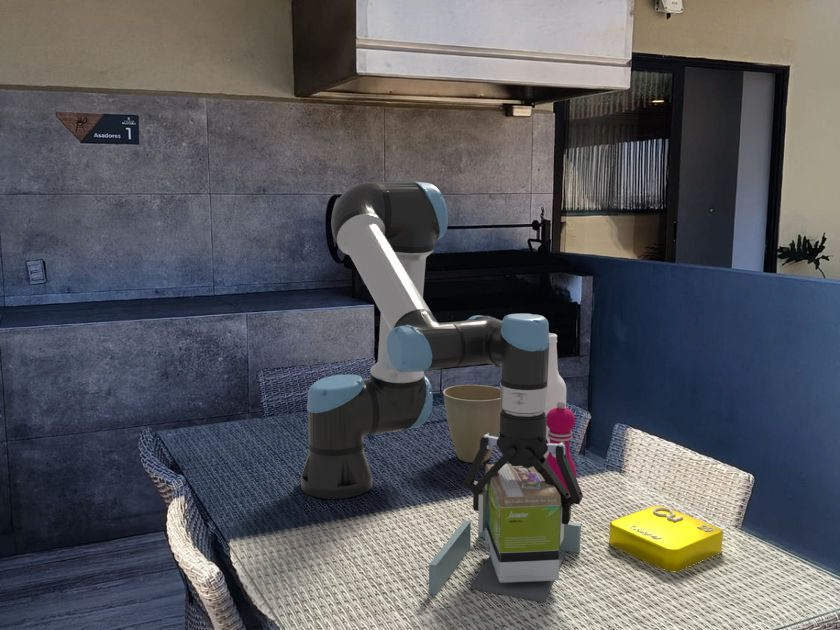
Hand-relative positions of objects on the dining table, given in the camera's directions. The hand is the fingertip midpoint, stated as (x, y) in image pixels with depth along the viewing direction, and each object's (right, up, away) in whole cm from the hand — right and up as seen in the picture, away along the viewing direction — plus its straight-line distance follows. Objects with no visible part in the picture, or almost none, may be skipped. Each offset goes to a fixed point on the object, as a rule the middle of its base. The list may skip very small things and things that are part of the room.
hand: (520, 535), depth 136 cm
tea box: (0, -5, +1) cm, 5 cm away
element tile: (+27, -5, +11) cm, 30 cm away
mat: (0, -6, +1) cm, 6 cm away
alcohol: (+13, +2, +55) cm, 56 cm away
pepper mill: (+12, -1, +35) cm, 37 cm away
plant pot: (-4, +3, +57) cm, 57 cm away
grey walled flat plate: (-2, -6, +1) cm, 7 cm away
